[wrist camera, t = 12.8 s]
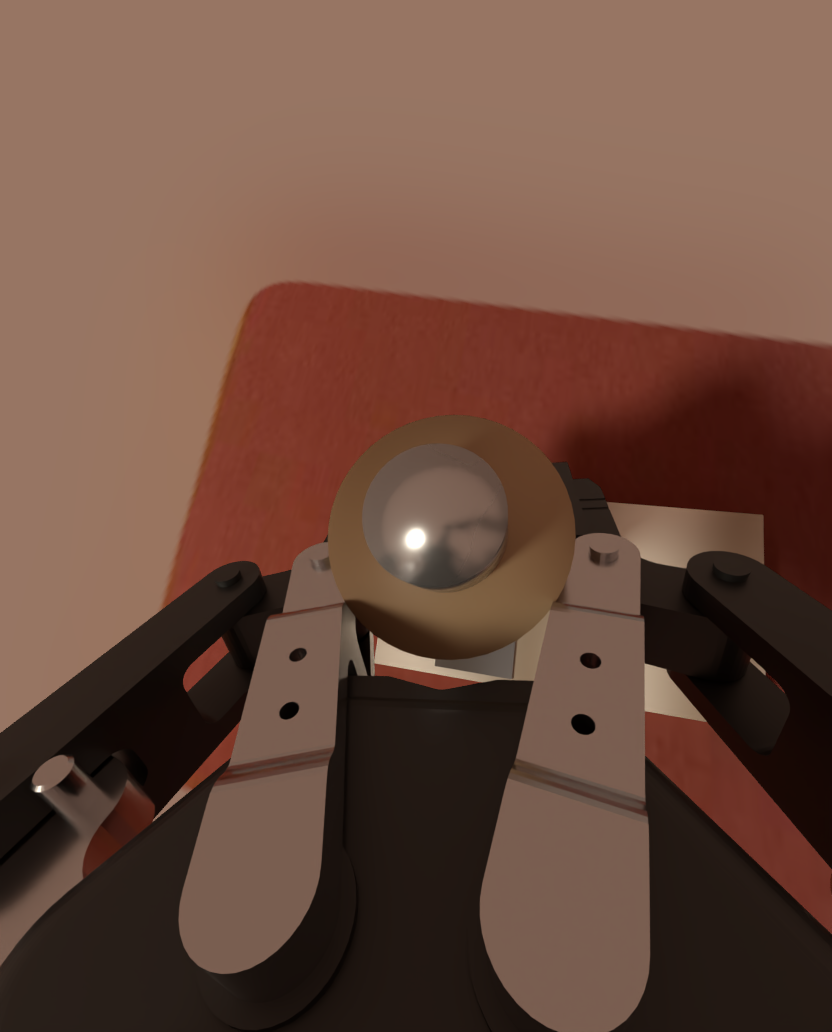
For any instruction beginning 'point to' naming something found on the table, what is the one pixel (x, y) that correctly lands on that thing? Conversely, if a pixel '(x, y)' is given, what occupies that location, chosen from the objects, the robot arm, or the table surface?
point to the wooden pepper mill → (451, 537)
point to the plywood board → (658, 540)
